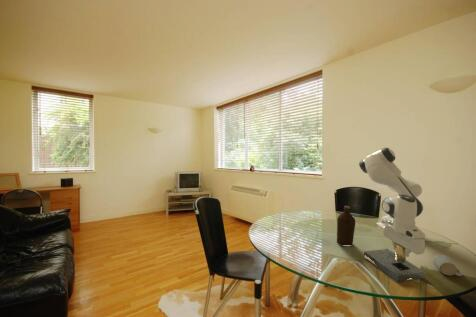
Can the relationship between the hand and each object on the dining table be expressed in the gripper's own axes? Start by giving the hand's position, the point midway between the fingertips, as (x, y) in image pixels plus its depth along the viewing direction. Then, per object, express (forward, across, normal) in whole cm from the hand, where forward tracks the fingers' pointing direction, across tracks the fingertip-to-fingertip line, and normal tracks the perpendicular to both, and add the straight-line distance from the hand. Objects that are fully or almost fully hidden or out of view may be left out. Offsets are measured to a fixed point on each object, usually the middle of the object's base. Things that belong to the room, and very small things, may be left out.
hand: (400, 252), depth 115 cm
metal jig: (+11, -5, 0) cm, 12 cm away
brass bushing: (+4, 0, 0) cm, 4 cm away
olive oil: (+11, -32, -8) cm, 35 cm away
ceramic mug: (+11, +4, +26) cm, 28 cm away
